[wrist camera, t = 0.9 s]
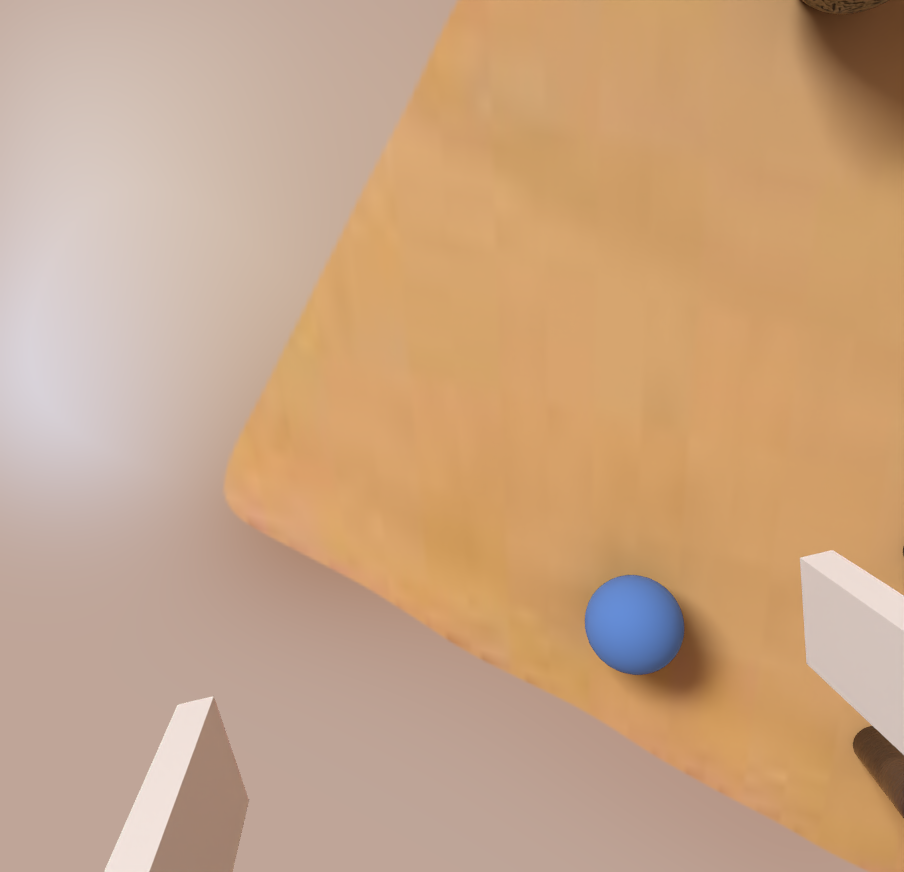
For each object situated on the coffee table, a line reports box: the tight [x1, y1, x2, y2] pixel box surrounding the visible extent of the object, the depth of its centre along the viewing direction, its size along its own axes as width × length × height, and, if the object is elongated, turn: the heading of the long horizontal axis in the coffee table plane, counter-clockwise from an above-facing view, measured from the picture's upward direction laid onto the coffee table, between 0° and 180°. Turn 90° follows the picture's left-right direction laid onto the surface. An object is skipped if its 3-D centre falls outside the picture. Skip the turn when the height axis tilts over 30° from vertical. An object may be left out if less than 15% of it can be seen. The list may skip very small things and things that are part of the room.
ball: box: [585, 575, 684, 675], centre depth 39 cm, size 6×6×6 cm
